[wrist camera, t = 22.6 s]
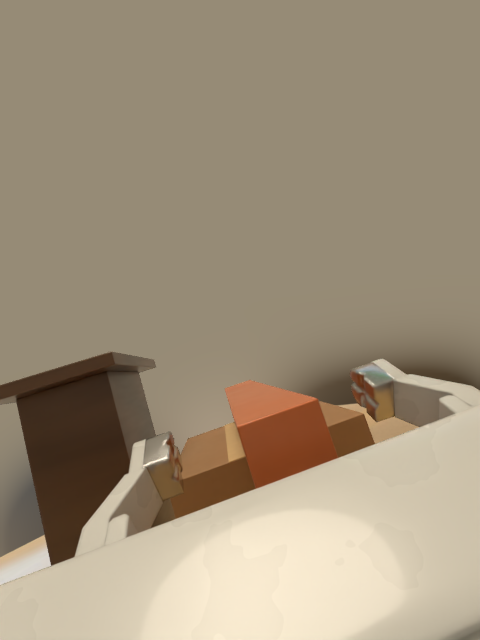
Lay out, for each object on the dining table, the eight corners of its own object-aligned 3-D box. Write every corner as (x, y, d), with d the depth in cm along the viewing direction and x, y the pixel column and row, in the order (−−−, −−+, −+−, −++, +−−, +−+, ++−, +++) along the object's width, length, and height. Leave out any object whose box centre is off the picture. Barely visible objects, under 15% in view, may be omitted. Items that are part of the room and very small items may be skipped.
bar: (348, 484, 10) (317, 397, 11) (264, 517, 10) (236, 426, 10) (258, 406, 34) (250, 379, 34) (232, 415, 34) (224, 388, 34)
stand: (251, 886, 14) (111, 351, 18) (77, 978, 13) (-34, 395, 17) (236, 654, 26) (153, 359, 30) (143, 694, 25) (69, 385, 29)
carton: (491, 758, 16) (363, 412, 18) (271, 876, 14) (165, 484, 17) (374, 592, 28) (306, 396, 30) (247, 648, 26) (187, 438, 29)
